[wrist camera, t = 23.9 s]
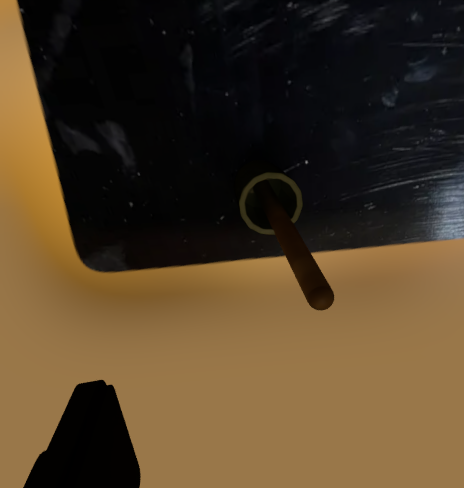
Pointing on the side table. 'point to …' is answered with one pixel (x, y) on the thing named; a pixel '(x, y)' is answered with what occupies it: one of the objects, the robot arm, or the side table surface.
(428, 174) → the side table surface
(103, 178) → the side table surface
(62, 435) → the robot arm
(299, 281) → the stick
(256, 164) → the holder
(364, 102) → the side table surface
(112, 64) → the side table surface
